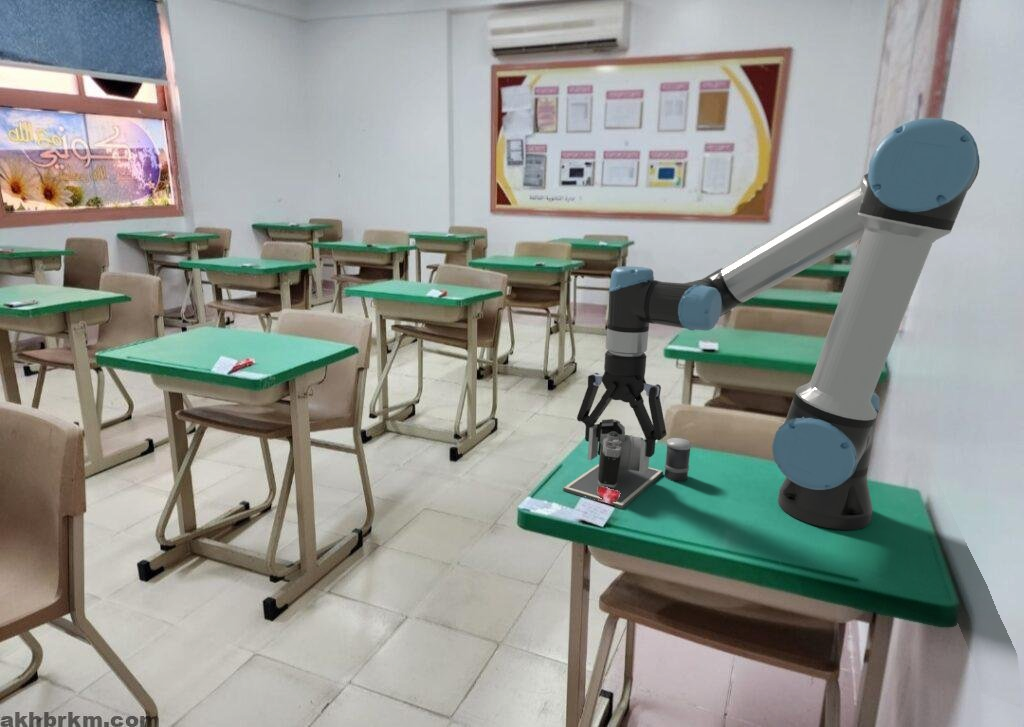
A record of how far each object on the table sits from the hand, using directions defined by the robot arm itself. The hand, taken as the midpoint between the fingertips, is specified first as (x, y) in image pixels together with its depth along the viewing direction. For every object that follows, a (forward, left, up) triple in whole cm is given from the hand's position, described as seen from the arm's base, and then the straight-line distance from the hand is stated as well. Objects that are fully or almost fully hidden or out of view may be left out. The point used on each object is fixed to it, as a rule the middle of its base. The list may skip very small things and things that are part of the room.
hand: (617, 464), depth 125 cm
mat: (0, 0, -4) cm, 4 cm away
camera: (0, 0, -2) cm, 2 cm away
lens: (-8, -10, -4) cm, 13 cm away
